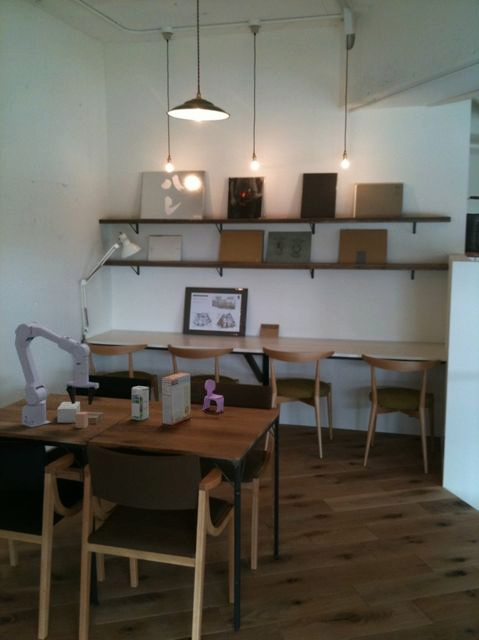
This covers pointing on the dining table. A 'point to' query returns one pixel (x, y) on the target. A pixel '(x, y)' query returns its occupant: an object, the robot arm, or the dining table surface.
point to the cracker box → (175, 398)
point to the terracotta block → (81, 419)
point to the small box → (67, 412)
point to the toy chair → (212, 396)
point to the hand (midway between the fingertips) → (81, 403)
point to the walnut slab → (95, 417)
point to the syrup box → (140, 403)
